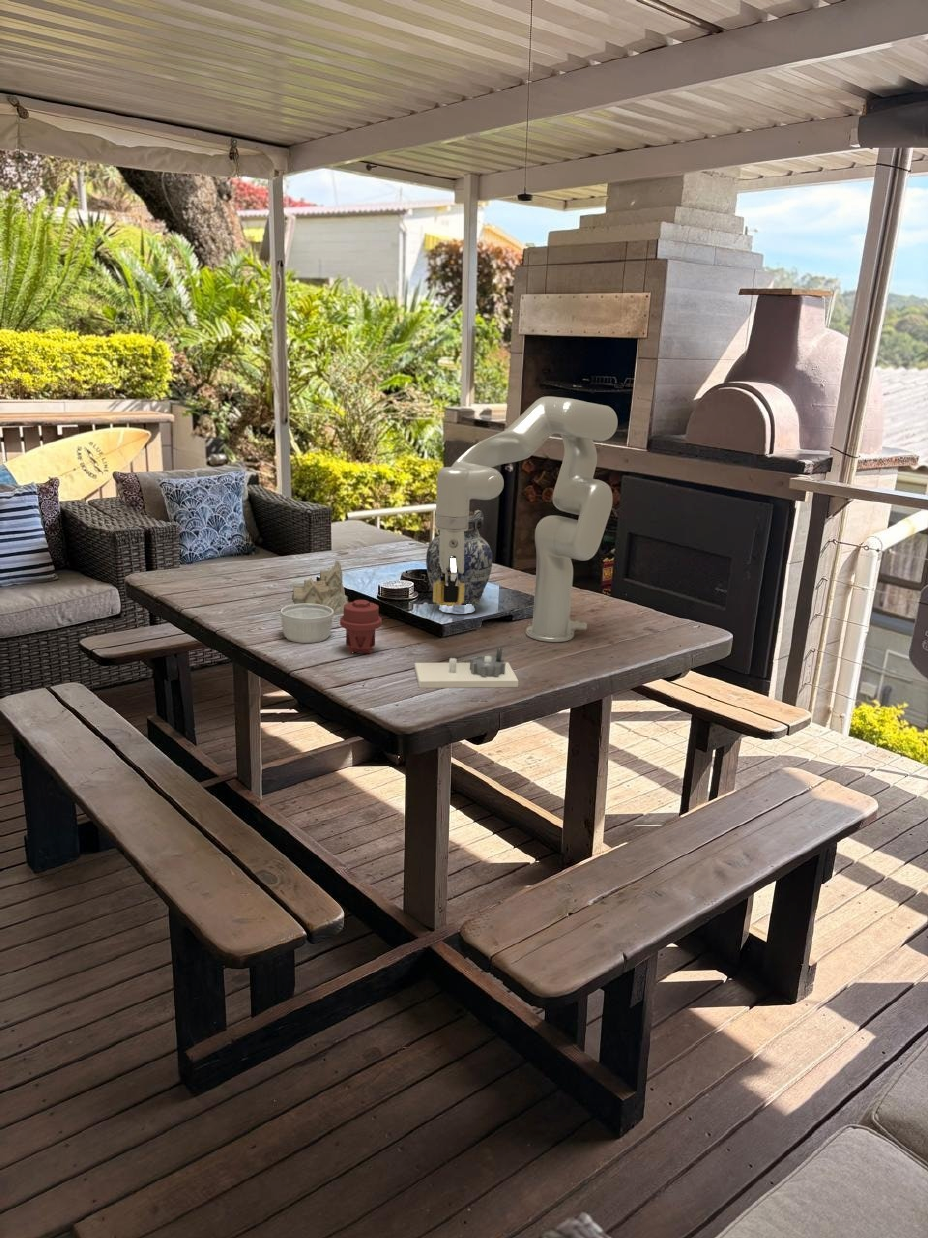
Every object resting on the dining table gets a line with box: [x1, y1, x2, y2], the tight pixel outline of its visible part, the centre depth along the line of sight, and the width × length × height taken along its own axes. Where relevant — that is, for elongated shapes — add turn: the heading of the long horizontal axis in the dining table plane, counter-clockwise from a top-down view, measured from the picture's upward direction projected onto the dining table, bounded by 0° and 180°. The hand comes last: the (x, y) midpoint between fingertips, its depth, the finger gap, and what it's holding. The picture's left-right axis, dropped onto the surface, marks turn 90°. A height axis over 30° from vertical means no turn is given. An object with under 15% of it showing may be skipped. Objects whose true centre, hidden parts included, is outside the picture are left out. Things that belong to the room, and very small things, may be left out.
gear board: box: [414, 647, 519, 689], centre depth 207 cm, size 22×12×7 cm, turn 98°
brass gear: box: [432, 580, 464, 606], centre depth 213 cm, size 7×7×4 cm
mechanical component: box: [339, 599, 383, 654], centre depth 221 cm, size 12×10×10 cm
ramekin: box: [279, 603, 335, 644], centre depth 230 cm, size 13×13×7 cm
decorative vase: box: [425, 509, 493, 605], centre depth 256 cm, size 21×19×28 cm
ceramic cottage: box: [291, 559, 349, 616], centre depth 253 cm, size 16×16×15 cm
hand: (448, 596), depth 214 cm, fingers closed on brass gear, 7 cm apart
